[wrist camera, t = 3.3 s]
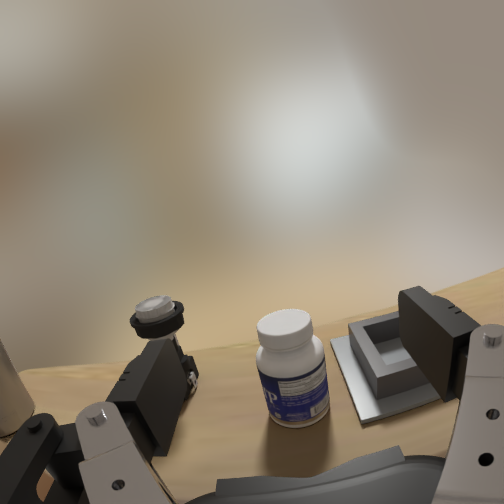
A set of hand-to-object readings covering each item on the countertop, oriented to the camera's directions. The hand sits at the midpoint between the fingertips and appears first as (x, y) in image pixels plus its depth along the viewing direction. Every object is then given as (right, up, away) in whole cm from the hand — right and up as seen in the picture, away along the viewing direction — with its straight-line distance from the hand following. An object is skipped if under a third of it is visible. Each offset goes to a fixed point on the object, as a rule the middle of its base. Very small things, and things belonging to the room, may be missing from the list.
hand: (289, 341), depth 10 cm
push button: (-8, -12, +20) cm, 24 cm away
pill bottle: (+3, -11, +14) cm, 18 cm away
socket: (+14, -7, +16) cm, 23 cm away
